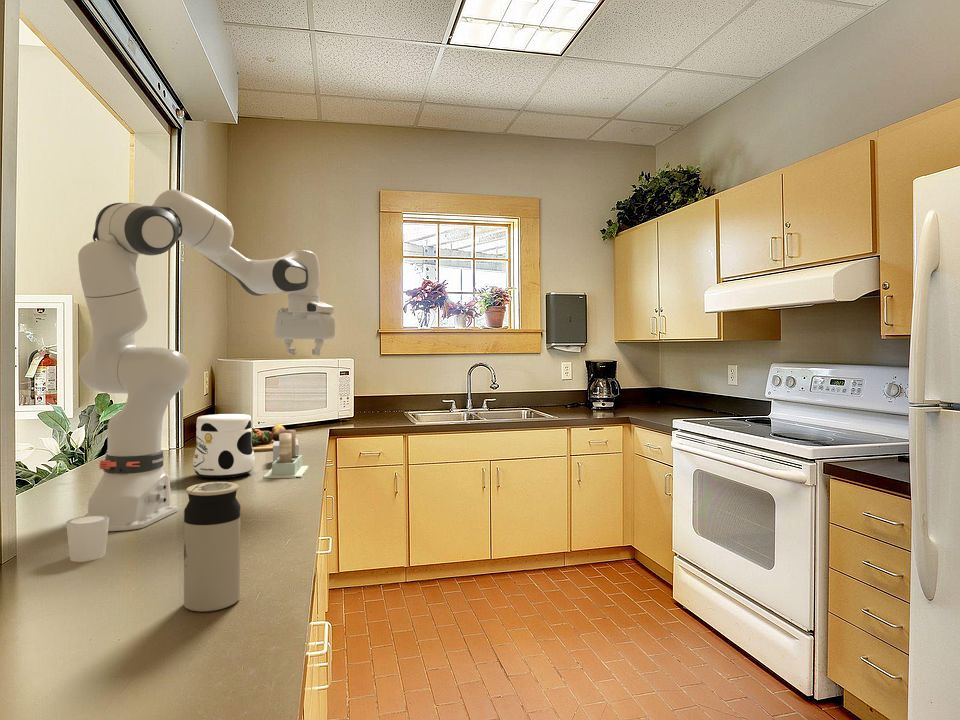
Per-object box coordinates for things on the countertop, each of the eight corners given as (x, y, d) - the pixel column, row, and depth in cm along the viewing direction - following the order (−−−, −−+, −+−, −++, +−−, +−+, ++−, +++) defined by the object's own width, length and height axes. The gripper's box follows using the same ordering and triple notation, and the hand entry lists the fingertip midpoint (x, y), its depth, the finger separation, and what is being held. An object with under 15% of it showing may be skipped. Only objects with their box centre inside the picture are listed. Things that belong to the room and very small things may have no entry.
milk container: (179, 479, 184) (179, 418, 184) (221, 468, 201) (221, 412, 200) (227, 483, 179) (227, 421, 178) (266, 472, 195) (266, 415, 195)
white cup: (101, 548, 121) (101, 512, 121) (115, 555, 117) (115, 518, 117) (60, 557, 116) (60, 519, 116) (73, 565, 112) (73, 526, 112)
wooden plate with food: (200, 445, 247) (200, 424, 247) (277, 437, 269) (277, 418, 269) (231, 458, 224) (231, 435, 224) (313, 448, 246) (313, 427, 245)
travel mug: (247, 592, 101) (247, 481, 100) (228, 613, 93) (229, 492, 92) (197, 592, 100) (197, 481, 100) (174, 613, 92) (174, 492, 92)
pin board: (301, 477, 188) (301, 436, 187) (263, 478, 186) (263, 436, 186) (308, 467, 204) (309, 429, 203) (273, 467, 202) (274, 429, 202)
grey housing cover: (298, 466, 206) (298, 444, 206) (273, 467, 203) (273, 445, 203) (297, 460, 215) (298, 440, 215) (273, 461, 213) (273, 441, 213)
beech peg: (290, 473, 190) (290, 434, 190) (278, 473, 190) (278, 434, 190) (292, 471, 194) (292, 432, 194) (280, 471, 193) (280, 433, 193)
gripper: (269, 307, 182) (269, 354, 182) (323, 305, 172) (322, 355, 173) (285, 308, 187) (285, 354, 188) (338, 307, 178) (338, 355, 178)
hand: (303, 355), depth 180 cm, fingers open, 8 cm apart
